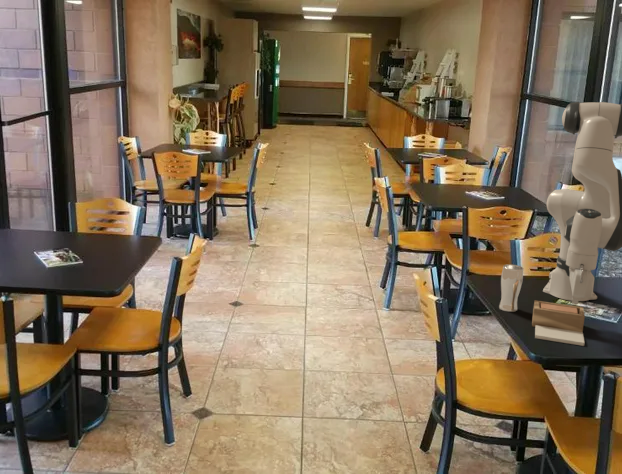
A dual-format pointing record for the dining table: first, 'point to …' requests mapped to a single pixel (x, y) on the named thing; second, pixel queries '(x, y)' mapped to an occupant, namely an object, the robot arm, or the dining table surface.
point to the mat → (559, 335)
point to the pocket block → (558, 317)
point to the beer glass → (510, 287)
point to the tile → (558, 308)
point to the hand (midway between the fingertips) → (574, 302)
